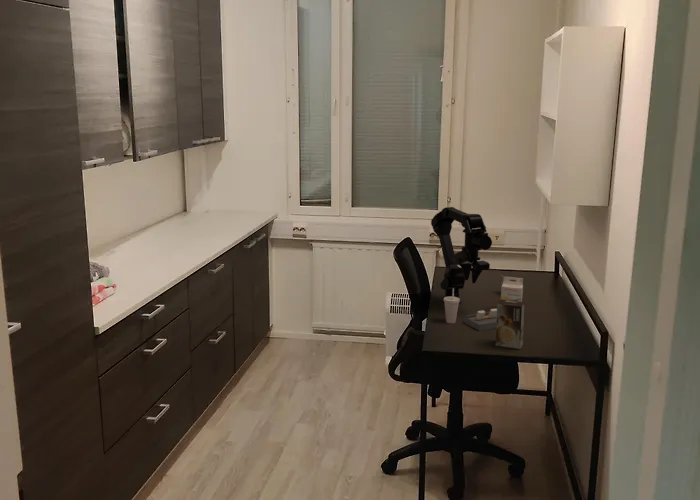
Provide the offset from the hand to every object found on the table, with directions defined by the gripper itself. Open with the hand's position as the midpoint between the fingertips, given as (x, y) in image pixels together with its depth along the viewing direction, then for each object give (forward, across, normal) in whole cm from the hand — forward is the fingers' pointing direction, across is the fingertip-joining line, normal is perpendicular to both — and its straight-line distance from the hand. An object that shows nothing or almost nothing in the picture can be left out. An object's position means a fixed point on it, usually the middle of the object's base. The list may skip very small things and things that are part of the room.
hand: (470, 281), depth 280 cm
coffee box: (+13, +38, -8) cm, 41 cm away
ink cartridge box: (+13, +8, +15) cm, 22 cm away
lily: (+13, -11, +28) cm, 33 cm away
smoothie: (+13, +8, -14) cm, 21 cm away
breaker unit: (+13, +16, 0) cm, 21 cm away
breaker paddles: (+10, +16, 0) cm, 19 cm away
